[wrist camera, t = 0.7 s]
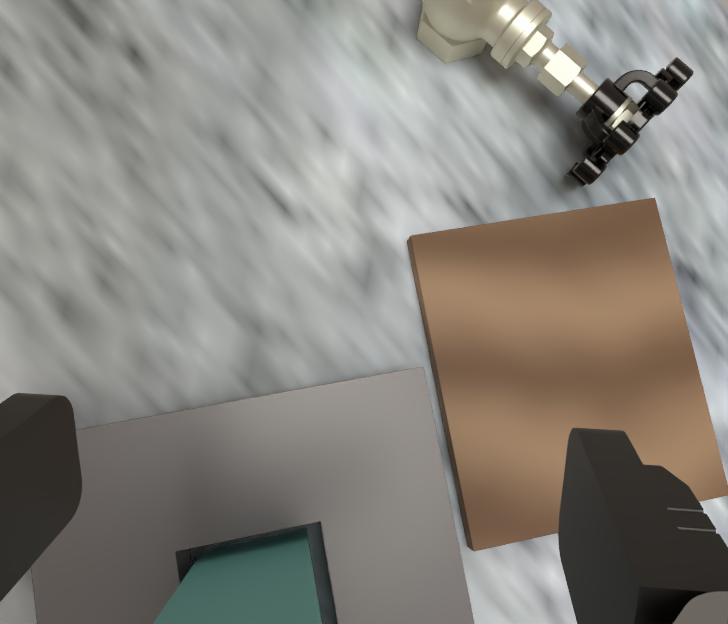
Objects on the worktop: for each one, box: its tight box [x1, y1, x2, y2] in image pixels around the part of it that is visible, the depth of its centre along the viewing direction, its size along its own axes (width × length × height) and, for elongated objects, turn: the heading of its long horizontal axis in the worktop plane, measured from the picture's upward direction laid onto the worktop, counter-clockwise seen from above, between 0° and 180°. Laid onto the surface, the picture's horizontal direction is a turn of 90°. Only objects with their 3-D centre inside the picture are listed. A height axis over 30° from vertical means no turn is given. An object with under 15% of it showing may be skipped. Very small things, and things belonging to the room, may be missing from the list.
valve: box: [416, 0, 693, 187], centre depth 31 cm, size 7×7×12 cm
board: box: [407, 198, 728, 551], centre depth 31 cm, size 14×12×1 cm
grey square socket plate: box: [31, 367, 474, 624], centre depth 27 cm, size 16×16×3 cm
